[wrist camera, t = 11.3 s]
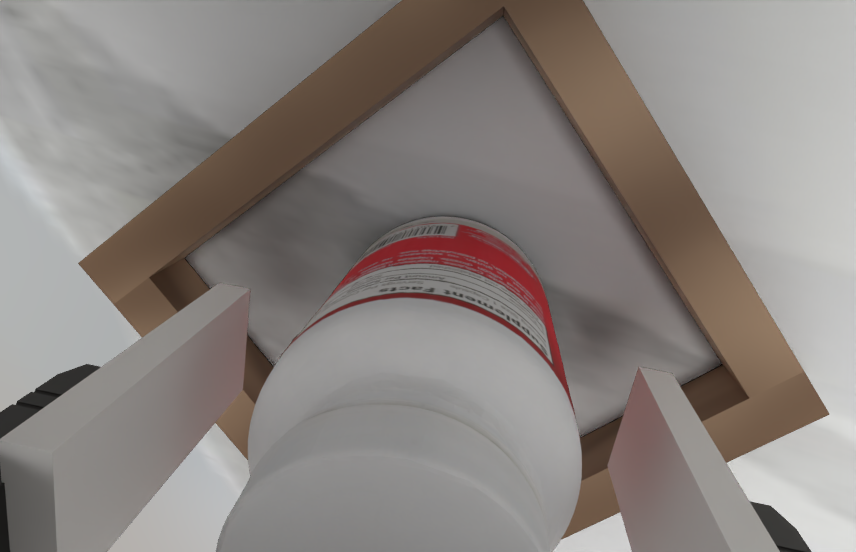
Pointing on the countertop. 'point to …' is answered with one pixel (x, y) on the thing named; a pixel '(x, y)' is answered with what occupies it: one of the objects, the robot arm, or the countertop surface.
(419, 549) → the pill bottle
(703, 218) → the brown wooden square frame
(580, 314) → the countertop surface
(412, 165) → the countertop surface
